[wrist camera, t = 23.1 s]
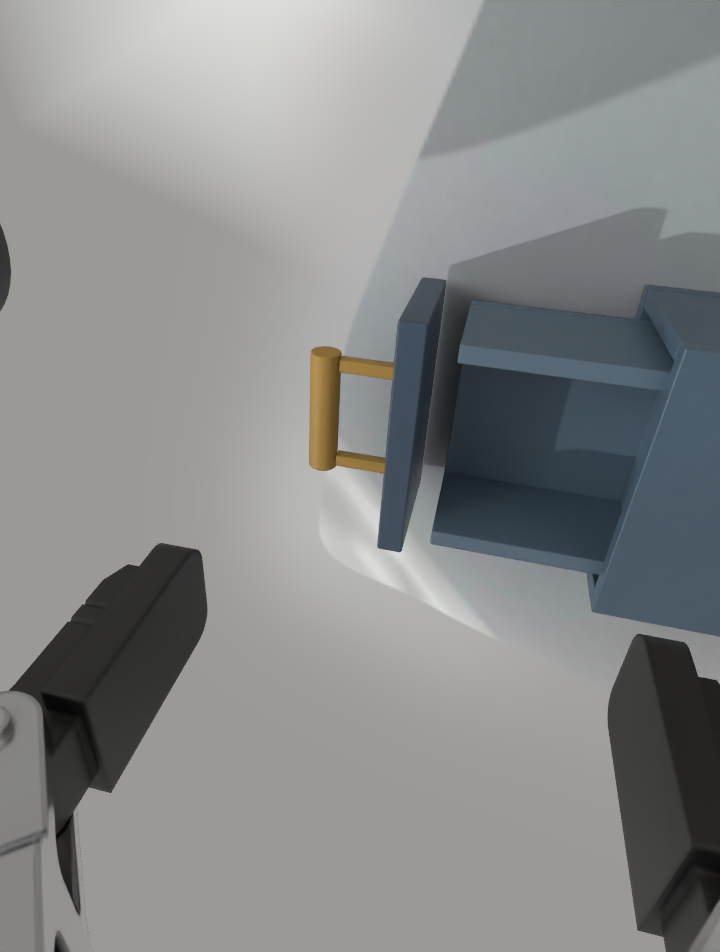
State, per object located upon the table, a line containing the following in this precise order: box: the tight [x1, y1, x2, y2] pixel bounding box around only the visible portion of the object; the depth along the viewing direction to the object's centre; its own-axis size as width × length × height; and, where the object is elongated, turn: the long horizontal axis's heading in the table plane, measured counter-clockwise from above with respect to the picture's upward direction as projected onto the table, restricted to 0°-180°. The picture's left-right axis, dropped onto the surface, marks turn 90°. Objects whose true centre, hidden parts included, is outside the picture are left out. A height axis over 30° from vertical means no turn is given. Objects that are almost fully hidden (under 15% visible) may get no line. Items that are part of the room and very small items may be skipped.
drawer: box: [309, 278, 674, 575], centre depth 29 cm, size 17×11×7 cm
